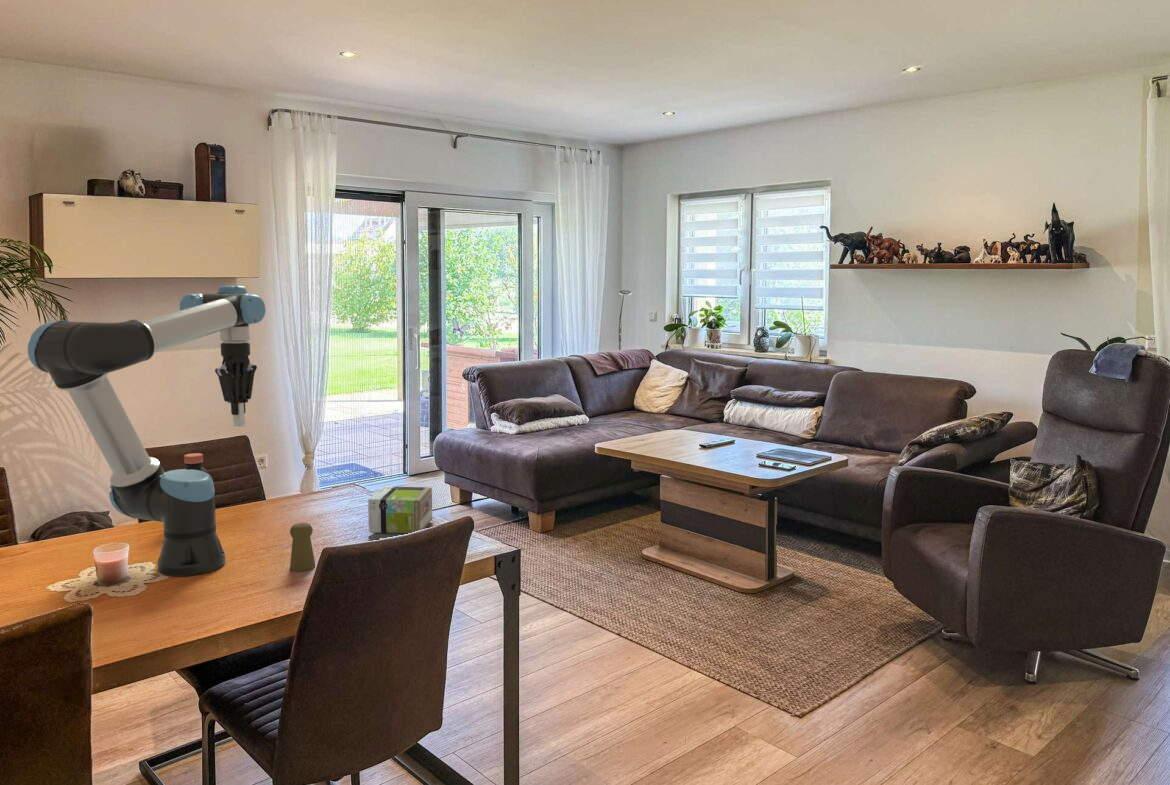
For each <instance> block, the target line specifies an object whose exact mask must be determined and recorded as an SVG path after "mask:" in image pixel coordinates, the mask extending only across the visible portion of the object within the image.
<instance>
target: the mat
mask: <svg viewBox="0 0 1170 785" xmlns="http://www.w3.org/2000/svg"><path fill="white" fill-rule="evenodd" d="M425 528H428V526H426V527H425ZM404 534H407V533H372V534H371V535H369V536H368V539H370V538H372V539H371V540H377V539H380V538H387V537H393V536H398V535H404Z"/></svg>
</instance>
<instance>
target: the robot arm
mask: <svg viewBox="0 0 1170 785" xmlns="http://www.w3.org/2000/svg"><path fill="white" fill-rule="evenodd" d="M266 311H267V309H266V306H265V302H264V300H263V298H261V297H260V296H259V295H257V294H251V293H250V294H249V293H248V289H247V287H246V286H244V285H220V286H218V288H217V292H216V293H208V292H207V293H205V292H204V293H198V292H197V293H196V292H194V293H189V294H185V295H184V296H183V297H181V299H180V302H179V310H178V311H174V312H170V313H167V314H164V315H163V314H162V315H159V316H157V317H153V318H149V319H147V320H142V321H141V320H139V319H130V320H126V321H120V322H119V321H118V322H95V321H69V320H64V319H63V320H56V321H49V322H45V323H43V324H41V325H39V326H38V327H37V328H36V329H35V330H34V331H33V332H32V334H31V335H30V339H29V341H28V342H27V343H28V344H27V355H28V358H29V361H30V362H31V364H32V365H33V366H34V367H35V368H36V369H37V370H40V371H41V372H42V373H48V374H49V375H50V377H51V379H52V381H53V383H54V385H55V386H56V388H57V389H59V390H61V391H66V392H67V393H68V394H69V396H70V398H71V400H72V401H73V403H74V405H75V407H76V409H77V410H78V412H79V414H80V415H81V418H82V419H83V421H84V422H85V423H84V424H85V425H86V426H87V428H88V431H89V432H90V434H91V435H92V438H93V439H94V441H95V443H96V445H97V447H98V449H99V450H100V451H101V453H102V456H103V457H104V459H105V461H106V463H107V464H108V466H109V468H110V469H111V472H112V473H111V476H110V478H109V483H110V487H109V489H110V491H109V492H108V493H109V495H108V496H109V500H110V503H111V505H112V506H113V508H114V509H115V510H116V511H117V512H118V513H119V514H121V515H123V516H127V517H129V518H132V519H138V520H146V521H153V522H160V523H162V525H163V527H162V528H163V542H162V545H161V550H160V553H159V554H160V555H159V557H158V559H157V572H158V573H159V574H161V575H164V576H169V577H190V576H191V577H192V576H197V575H203V574H206V573H210V572H214V571H217V570H218V569H220V568H222V567H223V566H225V564H226V553H225V551H224V549H223V546H222V544H221V541H220V538H219V536H218V533H217V526H216V524H217V523H216V522H217V520H216V498H215V497H216V495H215V494H216V492H215V491H216V490H215V487H214V479H213V478H212V476H211V475H210V474H209V473H208V472H207V473H205V472H203V471H199V470H192V469H190V470H186V469H185V468H182V469H181V468H180V469H172V470H168V471H165V470H164V468H163V466H162V464H161V462H160V461H159V459H158V458H156V457H153V456H149V454H148V452H147V449H146V448H145V447H144V443H143V442H142V441H141V439H140V436H139V435H138V433H137V430H136V429H135V427H134V426H133V424H132V421H131V420H130V418H129V416H128V414H127V412H126V410H125V408H124V406H123V404H122V403H121V400H120V398H119V397H118V395H117V393H116V391H115V389H114V387H113V385H112V383H111V382H110V379H109V378H108V374H109V373H113V372H116V371H120V370H122V369H125V368H128V367H132V366H133V365H137V364H140V363H142V362H146V361H149V360H150V359H152V358H153V357H154V355H155V353H158V352H161V351H164V350H167V349H170V348H173V347H176V346H179V345H182V344H184V343H188V342H191V341H193V340H197V339H201V338H203V337H206V336H209V335H212V334H215V333H218V332H219V339H220V341H221V343H220V355H221V357H222V362H221V363H222V364H221V366H220V367H219V368H215V369H214V373H216V376H217V377H218V380H219V384H220V388H221V392H222V398H223V401H224V402H225V403H226V402H227V403H228V404H230V409H231V411H230V412H231V415H232V420H233V421H232V422H233V427H245V426H246V424H245V420H246V419H245V414H246V412H247V411H246V403H248V402H249V400H250V399H252V395H253V393H252V392H253V385H254V378H255V373H256V371H257V369H258V367H257V365H256V364H252V362H251V360H250V358H249V357H250V355H251V344H250V342H248V341H250V339H251V338H250V325H253V324H258V323H260V322H261V321H263V319H264V318H265V316H266Z"/></svg>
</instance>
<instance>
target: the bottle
mask: <svg viewBox="0 0 1170 785" xmlns="http://www.w3.org/2000/svg"><path fill="white" fill-rule="evenodd" d="M183 461H184V466H185V467H184V469H186V470H190V469H192V470H199V471H203V472H205V473H207V474H208V470H207V469H206V468H205V467H203V464H204V454H203V453H199V452H196V453H195V452H194V453H187V454H184V455H183Z"/></svg>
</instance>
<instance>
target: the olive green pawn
mask: <svg viewBox="0 0 1170 785" xmlns="http://www.w3.org/2000/svg"><path fill="white" fill-rule="evenodd" d="M289 532H290V533H289V534H290V536H291V538H292V543H291V544H292V545H291V552H290V553H291V554H290V562H289V563H290V564H289V570H290V571H292V572H297V573H298V572H308V571H311V570H314V569H315V568H316V567H315V566H316V561H315V555H314V551H313V550H314V549H313V545H312V539H311V536H312V535H313V527H312V525H311V524H310V523H307V522H299V523H295V524H294V525H292V526H290V530H289Z"/></svg>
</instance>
